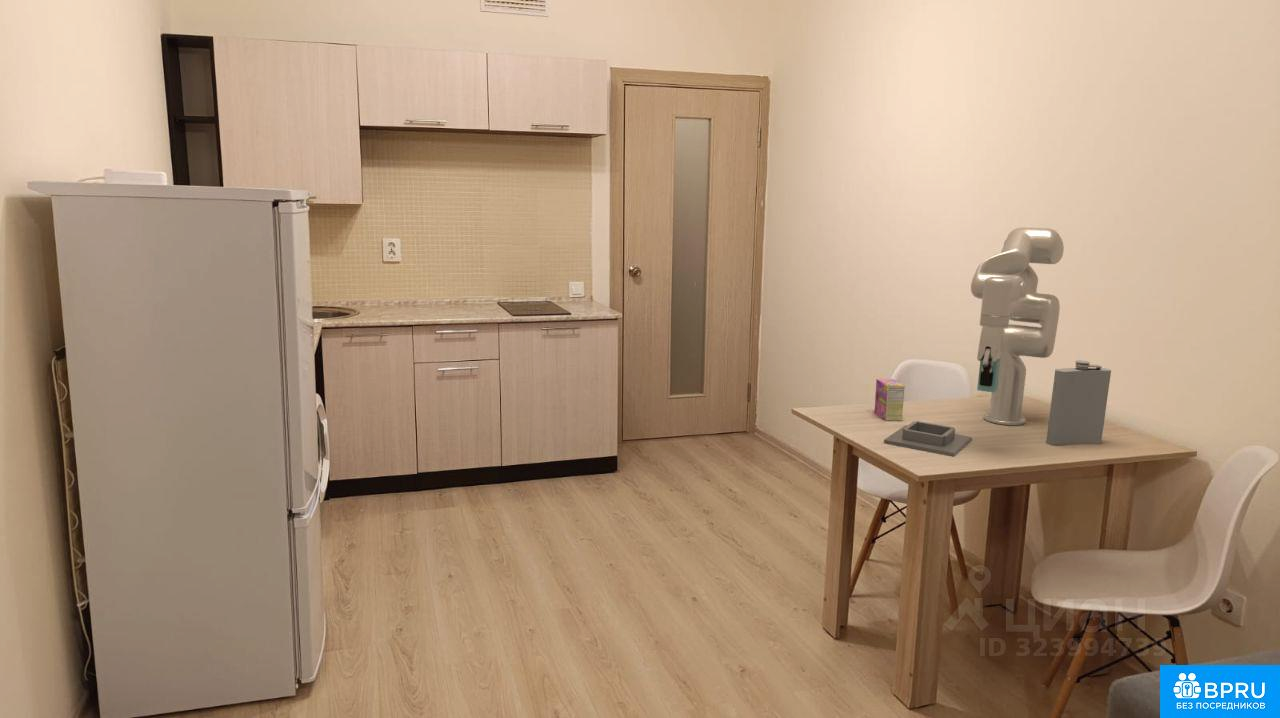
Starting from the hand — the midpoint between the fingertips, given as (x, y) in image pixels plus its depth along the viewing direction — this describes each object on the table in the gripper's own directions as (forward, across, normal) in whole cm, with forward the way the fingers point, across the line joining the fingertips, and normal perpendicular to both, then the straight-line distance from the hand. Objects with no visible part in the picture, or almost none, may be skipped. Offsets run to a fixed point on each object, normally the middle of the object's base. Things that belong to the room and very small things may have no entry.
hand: (987, 383), depth 240 cm
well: (+19, +3, -14) cm, 24 cm away
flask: (+20, -23, +21) cm, 37 cm away
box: (+20, -18, -33) cm, 42 cm away
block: (+2, 0, 0) cm, 2 cm away
